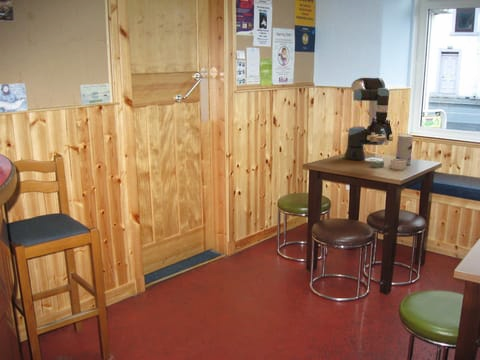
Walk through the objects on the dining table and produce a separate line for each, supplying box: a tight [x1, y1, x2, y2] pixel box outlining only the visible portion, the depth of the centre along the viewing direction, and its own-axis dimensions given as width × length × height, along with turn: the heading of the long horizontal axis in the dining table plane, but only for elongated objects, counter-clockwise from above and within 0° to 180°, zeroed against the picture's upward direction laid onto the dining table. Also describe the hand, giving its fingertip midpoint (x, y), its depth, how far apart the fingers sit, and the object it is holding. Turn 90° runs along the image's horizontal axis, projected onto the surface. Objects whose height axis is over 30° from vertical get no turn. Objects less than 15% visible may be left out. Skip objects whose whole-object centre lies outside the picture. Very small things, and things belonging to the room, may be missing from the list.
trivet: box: [370, 159, 385, 169], centre depth 351 cm, size 6×6×4 cm
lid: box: [367, 134, 394, 143], centre depth 346 cm, size 12×12×4 cm
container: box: [395, 134, 414, 166], centre depth 360 cm, size 10×10×20 cm
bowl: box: [389, 158, 407, 171], centre depth 346 cm, size 10×10×6 cm
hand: (379, 143), depth 347 cm, fingers closed on lid, 12 cm apart
